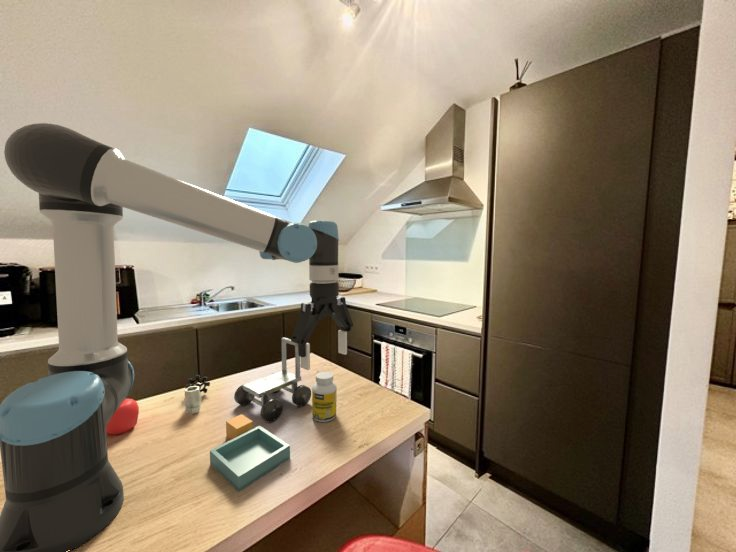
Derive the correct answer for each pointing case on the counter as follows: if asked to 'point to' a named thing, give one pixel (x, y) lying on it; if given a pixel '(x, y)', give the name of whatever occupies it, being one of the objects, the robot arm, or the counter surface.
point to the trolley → (275, 388)
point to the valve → (194, 394)
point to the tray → (249, 457)
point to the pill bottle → (324, 397)
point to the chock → (238, 426)
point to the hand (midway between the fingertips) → (325, 360)
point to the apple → (123, 417)
